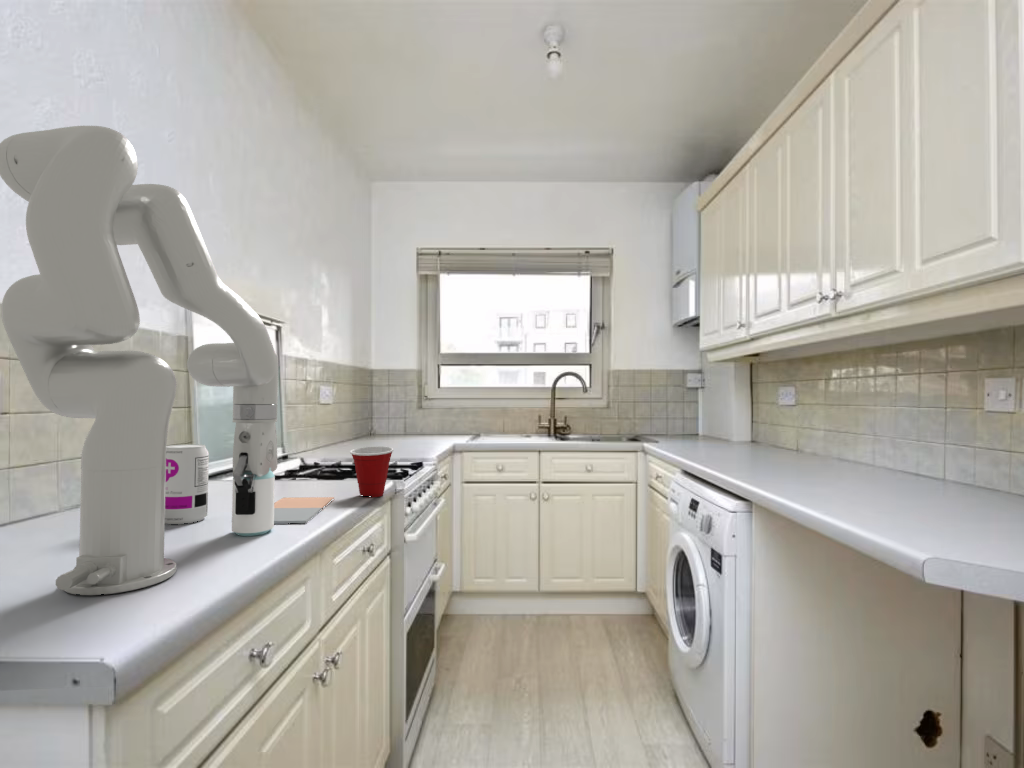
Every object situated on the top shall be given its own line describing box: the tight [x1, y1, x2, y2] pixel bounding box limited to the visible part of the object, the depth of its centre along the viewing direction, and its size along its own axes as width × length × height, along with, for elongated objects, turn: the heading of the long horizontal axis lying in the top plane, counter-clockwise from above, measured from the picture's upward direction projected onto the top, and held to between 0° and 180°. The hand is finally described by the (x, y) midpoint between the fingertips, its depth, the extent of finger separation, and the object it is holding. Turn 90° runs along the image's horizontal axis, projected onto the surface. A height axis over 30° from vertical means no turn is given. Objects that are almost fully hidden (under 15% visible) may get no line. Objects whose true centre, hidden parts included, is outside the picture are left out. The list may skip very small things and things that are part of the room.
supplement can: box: [165, 443, 210, 525], centre depth 108 cm, size 8×8×15 cm
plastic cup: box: [349, 445, 394, 498], centre depth 136 cm, size 11×11×12 cm
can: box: [231, 468, 276, 537], centre depth 99 cm, size 7×7×12 cm
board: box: [274, 496, 335, 525], centre depth 117 cm, size 24×12×1 cm, turn 6°
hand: (253, 508), depth 99 cm, fingers closed on can, 6 cm apart
